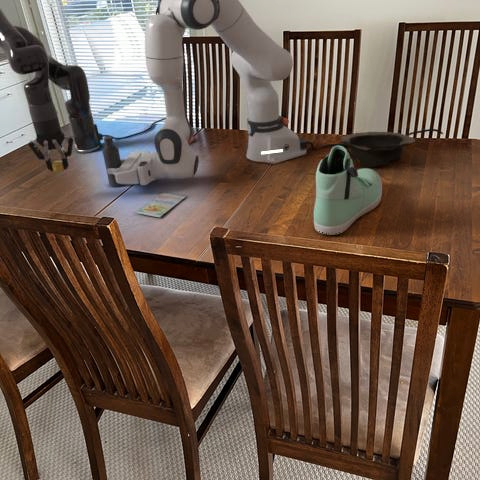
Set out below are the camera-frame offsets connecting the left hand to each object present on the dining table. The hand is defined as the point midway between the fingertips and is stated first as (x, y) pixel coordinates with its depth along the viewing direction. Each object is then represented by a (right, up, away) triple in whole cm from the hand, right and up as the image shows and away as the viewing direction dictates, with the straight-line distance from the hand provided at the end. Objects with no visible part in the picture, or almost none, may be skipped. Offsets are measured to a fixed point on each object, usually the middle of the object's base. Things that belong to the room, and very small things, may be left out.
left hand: (59, 169), depth 154 cm
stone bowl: (+106, +6, +15) cm, 107 cm away
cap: (0, +2, -1) cm, 2 cm away
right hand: (+15, +2, +8) cm, 17 cm away
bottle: (+16, -3, +12) cm, 20 cm away
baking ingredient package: (+34, -12, -5) cm, 36 cm away
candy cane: (+34, +16, +40) cm, 55 cm away
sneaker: (+90, -14, -15) cm, 92 cm away
